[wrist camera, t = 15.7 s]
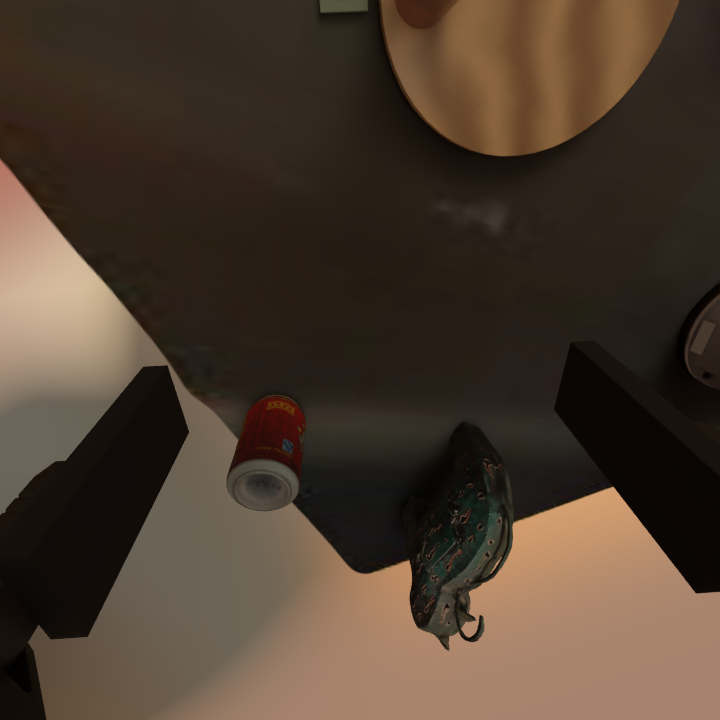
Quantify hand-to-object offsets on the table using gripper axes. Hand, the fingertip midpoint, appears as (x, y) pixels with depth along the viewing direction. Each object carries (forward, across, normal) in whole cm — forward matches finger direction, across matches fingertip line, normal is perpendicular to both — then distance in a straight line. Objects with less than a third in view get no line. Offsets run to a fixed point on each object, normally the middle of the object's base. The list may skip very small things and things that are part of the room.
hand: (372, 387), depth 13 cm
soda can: (+28, +10, +22) cm, 37 cm away
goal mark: (+28, 0, -16) cm, 33 cm away
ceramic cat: (+29, -10, +34) cm, 46 cm away
